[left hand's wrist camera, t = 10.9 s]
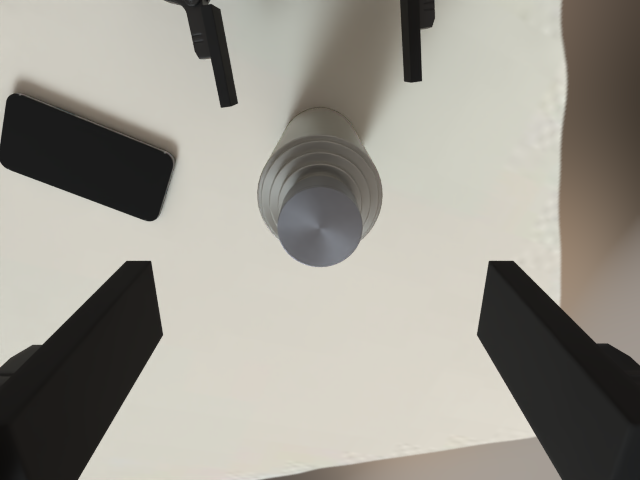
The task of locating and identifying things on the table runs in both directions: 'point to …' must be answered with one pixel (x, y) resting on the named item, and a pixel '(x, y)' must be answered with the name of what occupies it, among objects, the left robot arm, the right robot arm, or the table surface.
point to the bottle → (319, 164)
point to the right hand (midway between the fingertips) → (320, 94)
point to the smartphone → (84, 157)
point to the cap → (319, 222)
